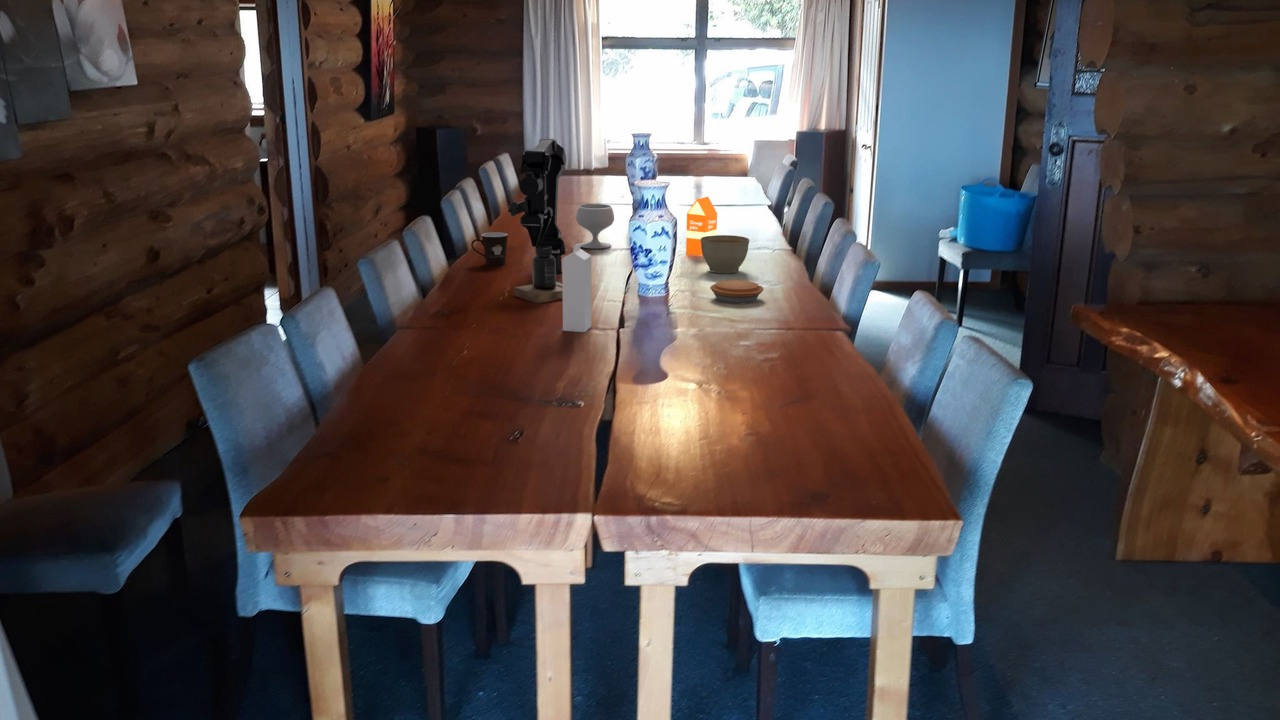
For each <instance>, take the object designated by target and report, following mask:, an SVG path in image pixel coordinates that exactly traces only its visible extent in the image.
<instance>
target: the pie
mask: <svg viewBox="0 0 1280 720" xmlns="http://www.w3.org/2000/svg"><path fill="white" fill-rule="evenodd" d="M709 289H710V290H711V291H712V292H713V295H714V296H715V298H716V300H718V302H721V303H726V304H733V305H734V304H735V305H742V304H741V303H746V304H751V303H754V302H755V301H756V300H757V299H758V298H759V295H760V294H762V293H763V291H764V289H765V288H764V287H763V286H761V285H759V284H758V283H756V282H753V281H748V280H740V279H735V280H734V279H730V280H728V279H727V280H721V281H717V282H715V283H714V284H712V285H711V286H710V287H709ZM753 301H754V302H753ZM750 302H751V303H750Z"/></svg>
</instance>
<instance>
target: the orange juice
mask: <svg viewBox="0 0 1280 720" xmlns="http://www.w3.org/2000/svg"><path fill="white" fill-rule="evenodd" d="M717 226H718V212H717V211H716V208H715V207H714V204H713V203H712V201H711V199H710V198H709V196H704V197H701V198H696V200H695V201H694V202H693V204H692V205H691V207H690V208H689V210H688V212H686V230H685V231H686V232H685V233H686V236H685V238H686V239H685V240H686V241H685V242H686V243H685V255H689V254H694V255H693V256H696V255H702V256H701V257H703V254H702V250H701V242H700V239H701V238H702V237H705V236H714V235H717V233H718V231H717V230H718V227H717Z"/></svg>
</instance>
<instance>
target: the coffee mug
mask: <svg viewBox="0 0 1280 720" xmlns="http://www.w3.org/2000/svg"><path fill="white" fill-rule="evenodd" d="M481 237H482V238H481V239H482V240H481V239H480V238H476V239H475V238H474V239H473V240H472V241H471V244H470V245H471V248H472V250H473V251H474V252H476V253H477V254H478V255H481V256H482V257H484V260H485V265H486V264H487V266H489V265H492V266H491V267H500V266H504V265H506V260H507V259H506V257H507V249H508V248H507V247H508V246H507V245H508V237H509V235H508V233H505V232H484V233H482V234H481ZM477 241H478V242H480V243H481V245H482V247H483V251H484V253H481V252H480V251H478V250H477V249H476V248H474V243H475V242H477Z"/></svg>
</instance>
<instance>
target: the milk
mask: <svg viewBox="0 0 1280 720" xmlns="http://www.w3.org/2000/svg"><path fill="white" fill-rule="evenodd" d="M580 244H581V243H580V242H579V243H576V245H574V246H572V253H569V254H568V255H566V256H564V257H562V258H561V271H562V273H561V274H562V275H561V276H562V277H561V278H562V287H563V299H562V331H564V332H576V333H586V332H587V331H588V330H589V329H591V327H592V255H591V254H589V253H587V251H585V250H583V249H581V248H582V247H580Z"/></svg>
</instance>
